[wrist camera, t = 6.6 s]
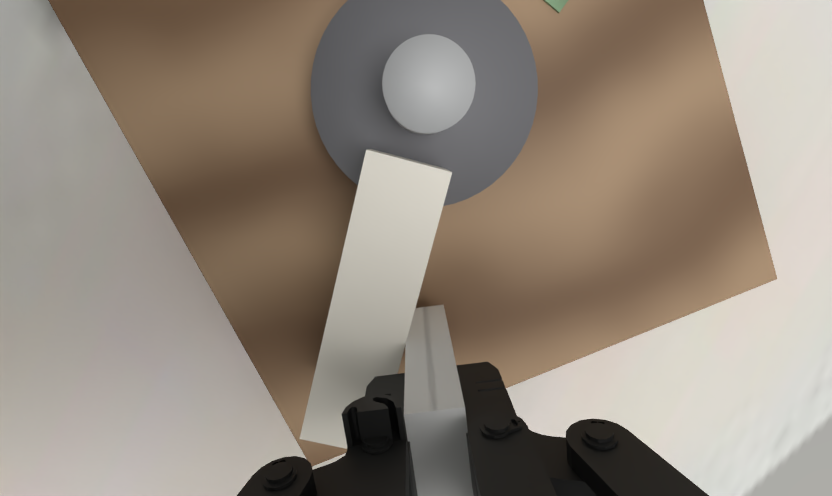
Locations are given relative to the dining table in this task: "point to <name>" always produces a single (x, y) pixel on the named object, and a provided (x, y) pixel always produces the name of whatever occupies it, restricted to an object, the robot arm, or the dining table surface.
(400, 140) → the tuning dial
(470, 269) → the board
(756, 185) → the dining table surface
